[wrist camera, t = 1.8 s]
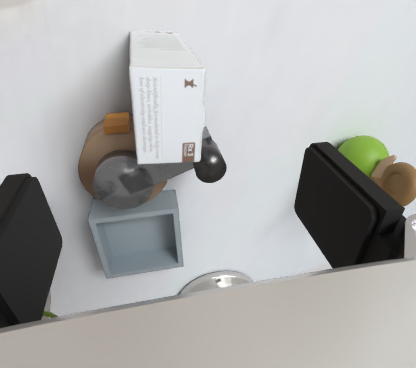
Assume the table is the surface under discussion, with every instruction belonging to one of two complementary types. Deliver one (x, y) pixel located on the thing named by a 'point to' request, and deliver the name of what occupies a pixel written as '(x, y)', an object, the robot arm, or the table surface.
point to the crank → (149, 174)
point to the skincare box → (166, 97)
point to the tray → (138, 236)
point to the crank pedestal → (108, 147)
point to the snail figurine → (382, 167)
